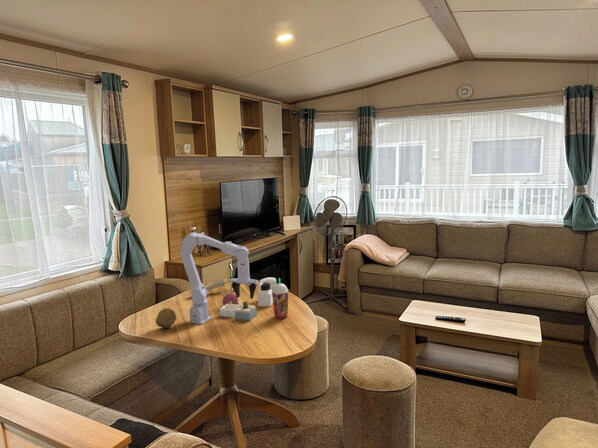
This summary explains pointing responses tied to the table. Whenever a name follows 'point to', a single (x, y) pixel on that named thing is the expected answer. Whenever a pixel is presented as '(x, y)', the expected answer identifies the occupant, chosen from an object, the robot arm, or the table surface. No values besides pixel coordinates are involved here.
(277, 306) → the smoothie
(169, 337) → the table surface
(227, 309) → the cream pot
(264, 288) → the medicine bottle
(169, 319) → the natural sponge
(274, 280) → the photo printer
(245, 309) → the lid
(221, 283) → the flower vase
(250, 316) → the slate pot
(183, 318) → the table surface
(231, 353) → the table surface
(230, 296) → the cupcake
